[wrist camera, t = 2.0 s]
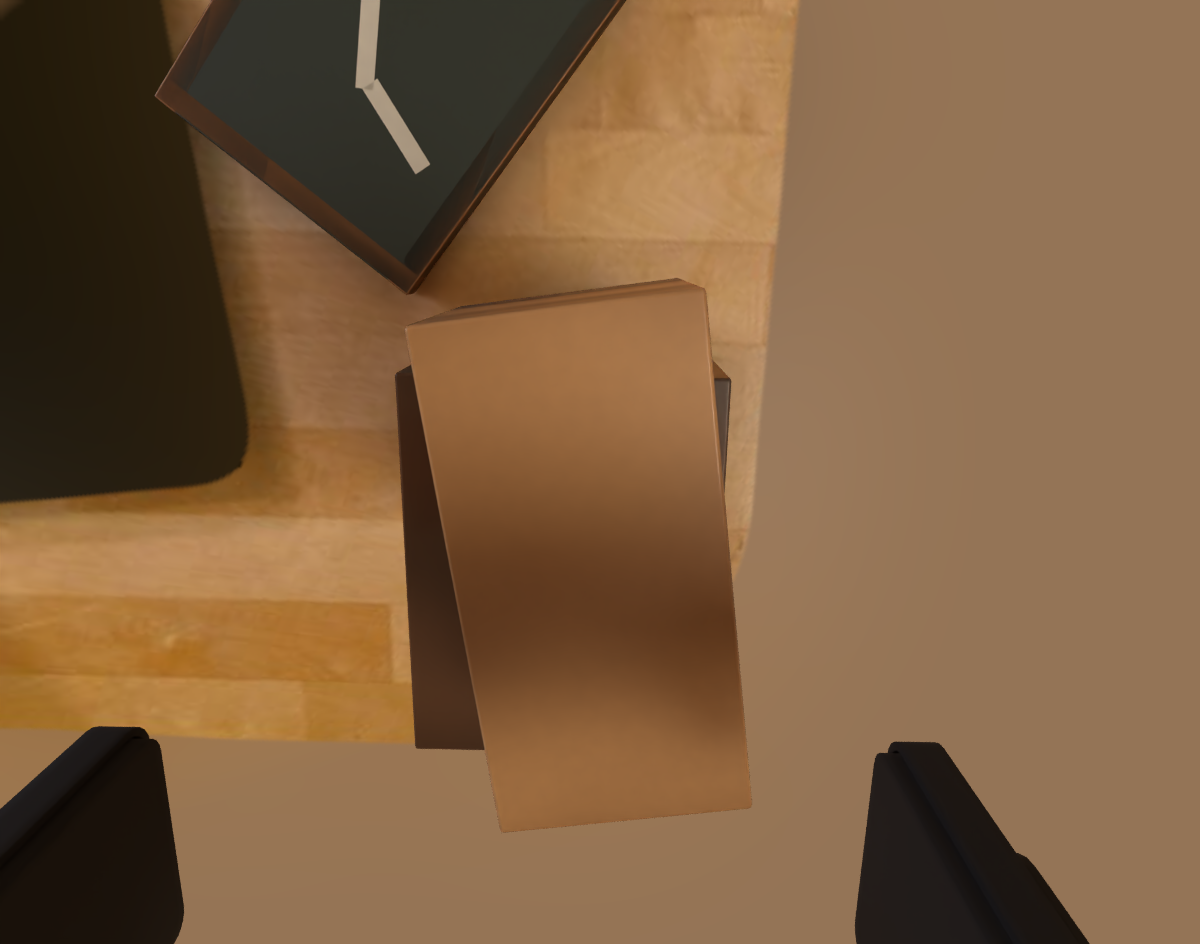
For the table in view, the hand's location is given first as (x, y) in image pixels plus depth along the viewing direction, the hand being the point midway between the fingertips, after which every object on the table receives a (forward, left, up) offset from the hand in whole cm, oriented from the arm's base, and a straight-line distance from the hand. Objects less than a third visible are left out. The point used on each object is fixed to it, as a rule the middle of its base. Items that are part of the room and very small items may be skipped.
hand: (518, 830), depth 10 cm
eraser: (-2, -1, -8) cm, 8 cm away
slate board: (-7, -15, -26) cm, 31 cm away
